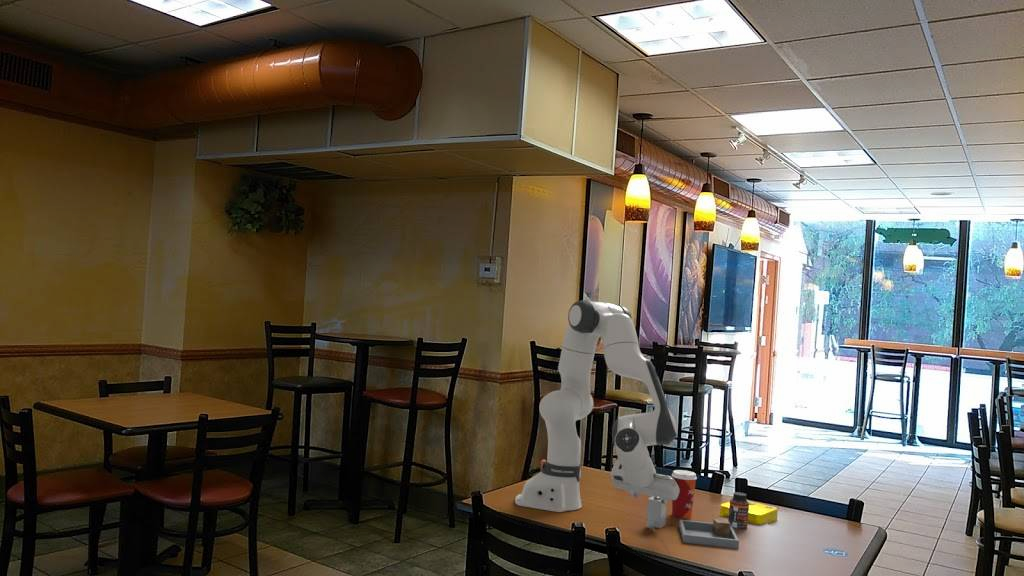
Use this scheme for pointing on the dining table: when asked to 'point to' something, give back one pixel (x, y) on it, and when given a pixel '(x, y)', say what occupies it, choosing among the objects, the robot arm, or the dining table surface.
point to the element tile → (754, 512)
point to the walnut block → (721, 527)
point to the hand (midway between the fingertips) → (650, 498)
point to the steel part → (656, 513)
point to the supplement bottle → (738, 511)
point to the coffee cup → (684, 493)
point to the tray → (706, 534)
